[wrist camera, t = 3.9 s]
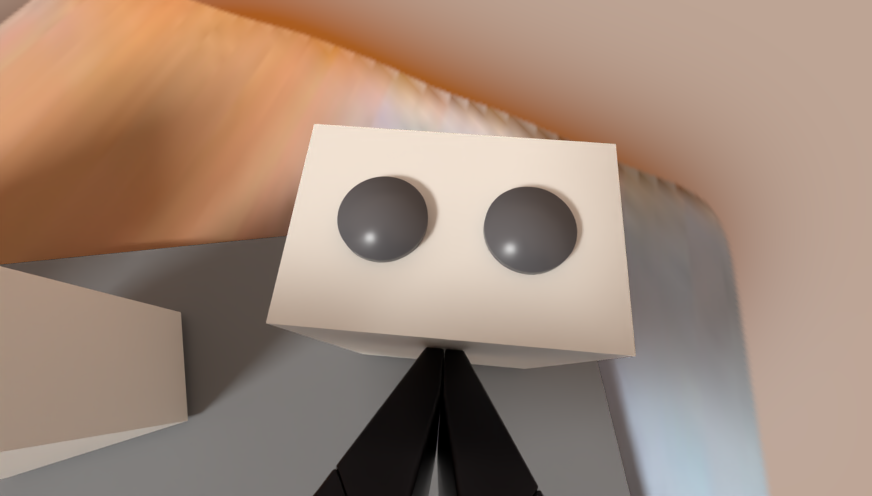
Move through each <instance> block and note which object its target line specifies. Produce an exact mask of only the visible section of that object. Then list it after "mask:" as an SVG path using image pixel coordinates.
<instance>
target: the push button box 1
mask: <svg viewBox="0 0 872 496" xmlns="http://www.w3.org/2000/svg"><path fill="white" fill-rule="evenodd" d="M185 421H188V414H187V399H186V384H185V368H184V353H183V337H182V322H181V312H178V311H174V310H170V309H166V308H162V307H158V306H154V305H150V304H146V303H142V302H138V301H134V300H131V299H127V298H123V297H119V296H115V295H111V294H107V293H103V292H99V291H95V290H91V289H88V288H84V287H80V286H76V285H72V284H68V283H64V282H60V281H56V280H52V279H48V278H45V277H41V276H37V275H33V274H29V273H25V272H21V271H17V270H13V269H9V268H5V267H1V266H0V479H4V478H8V477H11V476H14V475H17V474H21V473H24V472H27V471H30V470H33V469H36V468H40V467H43V466H46V465H49V464H52V463H55V462H59V461H62V460H65V459H68V458H71V457H74V456H78V455H81V454H84V453H87V452H90V451H94V450H97V449H100V448H103V447H106V446H109V445H113V444H116V443H119V442H122V441H125V440H128V439H132V438H135V437H138V436H141V435H144V434H147V433H151V432H154V431H157V430H160V429H163V428H166V427H170V426H173V425H176V424H179V423H182V422H185Z"/></svg>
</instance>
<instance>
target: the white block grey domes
mask: <svg viewBox="0 0 872 496" xmlns="http://www.w3.org/2000/svg"><path fill="white" fill-rule="evenodd" d="M266 324H269V325H273V326H276V327H279V328H282V329H285V330H288V331H292V332H295V333H298V334H301V335H304V336H307V337H310V338H314V339H317V340H320V341H323V342H326V343H329V344H333V345H336V346H339V347H342V348H345V349H348V350H351V351H355V352H358V353H361V354H367V355H378V356H389V357H400V358H411V359H417V358H418V357H419V355H420V354H421V353H422V352H423V350H424V349H425V348H426V347H430V348H442V349H444V353H445V350H446V349H453V350H463V351H464V352H465V354H466V356H467V357H468V359H469V361H470V363H471V364H477V365H488V366H499V367H510V368H521V369H528V368H537V367H545V366H554V365H563V364H572V363H580V362H589V361H598V360H607V359H615V358H624V357H633V356H636V353H635V343H634V332H633V321H632V311H631V300H630V290H629V279H628V269H627V258H626V248H625V237H624V227H623V216H622V206H621V195H620V184H619V174H618V163H617V153H616V144H608V143H593V142H578V141H563V140H548V139H533V138H518V137H503V136H488V135H473V134H458V133H442V132H427V131H412V130H397V129H382V128H367V127H352V126H337V125H322V124H314V127H313V131H312V135H311V140H310V144H309V148H308V152H307V156H306V160H305V164H304V168H303V172H302V177H301V181H300V185H299V189H298V193H297V197H296V201H295V205H294V209H293V213H292V218H291V222H290V226H289V230H288V234H287V238H286V242H285V246H284V250H283V254H282V259H281V263H280V267H279V271H278V275H277V279H276V283H275V287H274V291H273V295H272V300H271V304H270V308H269V312H268V316H267V320H266Z"/></svg>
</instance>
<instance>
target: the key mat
mask: <svg viewBox="0 0 872 496" xmlns="http://www.w3.org/2000/svg"><path fill="white" fill-rule="evenodd" d="M286 238H287V236H281V237H271V238H261V239H251V240H241V241H231V242H221V243H211V244H201V245H191V246H181V247H171V248H161V249H151V250H141V251H131V252H121V253H111V254H101V255H92V256H82V257H72V258H62V259H52V260H42V261H32V262H22V263H12V264H2V265H0V266H1V267H5V268H9V269H13V270H17V271H21V272H25V273H29V274H33V275H37V276H41V277H45V278H48V279H52V280H56V281H60V282H64V283H68V284H72V285H76V286H80V287H84V288H88V289H91V290H95V291H99V292H103V293H107V294H111V295H115V296H119V297H123V298H127V299H131V300H134V301H138V302H142V303H146V304H150V305H154V306H158V307H162V308H166V309H170V310H174V311H178V312H181V322H182V337H183V353H184V368H185V384H186V399H187V414H188V421H185V422H182V423H179V424H176V425H173V426H170V427H166V428H163V429H160V430H157V431H154V432H151V433H147V434H144V435H141V436H138V437H135V438H132V439H128V440H125V441H122V442H119V443H116V444H113V445H109V446H106V447H103V448H100V449H97V450H94V451H90V452H87V453H84V454H81V455H78V456H74V457H71V458H68V459H65V460H62V461H59V462H55V463H52V464H49V465H46V466H43V467H40V468H36V469H33V470H30V471H27V472H24V473H21V474H17V475H14V476H11V477H8V478H4V479H0V496H313V495H314V493H315V492H316V491H317V490H318V488H319V487H320V486H321V484H322V483H323V482H324V480H325V479H326V478H327V477H328V475H329V474H330V473H331V471H332V470H333V469H336V465H337V464H338V462H339V461H340V460H341V458H342V457H343V456H344V454H345V453H346V452H347V450H348V449H349V448H350V446H351V445H352V444H353V443H354V441H355V440H356V439H357V437H358V436H359V435H360V433H361V432H362V431H363V429H364V428H365V427H366V425H367V424H368V423H369V421H370V420H371V419H372V417H373V416H374V415H375V414H376V412H377V411H378V410H379V408H380V407H381V406H382V404H383V403H384V402H385V400H386V399H387V398H388V396H389V395H390V394H391V392H392V391H393V390H394V388H395V387H396V386H397V384H398V383H399V382H400V381H401V379H402V378H403V377H404V375H405V374H406V373H407V371H408V370H409V369H410V367H411V366H412V365H413V363H414V362H415V361H416V359H411V358H400V357H389V356H378V355H367V354H361V353H358V352H355V351H351V350H348V349H345V348H342V347H339V346H336V345H333V344H329V343H326V342H323V341H320V340H317V339H314V338H310V337H307V336H304V335H301V334H298V333H295V332H292V331H288V330H285V329H282V328H279V327H276V326H273V325H269V324H266V320H267V316H268V312H269V308H270V304H271V300H272V295H273V291H274V287H275V283H276V279H277V275H278V271H279V267H280V263H281V259H282V254H283V250H284V246H285V242H286ZM471 365H472V366H473V368H474V370H475V372H476V374H477V376H478V377H479V379H480V381H481V383H482V385H483V386H484V388H485V390H486V392H487V394H488V395H489V397H490V399H491V401H492V403H493V405H494V406H495V408H496V410H497V412H498V414H499V415H500V417H501V419H502V421H503V423H504V425H505V426H506V428H507V430H508V432H509V434H510V435H511V437H512V439H513V441H514V443H515V445H516V446H517V448H518V450H519V452H520V454H521V455H522V457H523V459H524V461H525V463H526V464H527V466H528V468H529V470H530V472H531V474H532V475H533V477H534V479H535V481H536V483H537V484H538V490H541V491H542V493H543V495H544V496H630V492H629V488H628V484H627V480H626V476H625V472H624V468H623V463H622V459H621V455H620V451H619V447H618V443H617V439H616V435H615V431H614V427H613V423H612V419H611V414H610V410H609V406H608V402H607V398H606V394H605V390H604V386H603V382H602V378H601V374H600V370H599V366H598V361H589V362H580V363H572V364H563V365H554V366H545V367H537V368H528V369H521V368H510V367H499V366H488V365H477V364H471ZM438 431H439V429H438ZM437 445H438V441H437ZM429 496H438V473H437V451H436V458H435V464H434V470H433V475H432V480H431V486H430V491H429Z"/></svg>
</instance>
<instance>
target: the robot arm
mask: <svg viewBox="0 0 872 496" xmlns="http://www.w3.org/2000/svg"><path fill="white" fill-rule="evenodd" d="M438 429H439V431H438ZM437 441H438V445H437ZM436 451H437V473H438V496H544V495H543V493H542V491H541V490H538V484H537V483H536V481H535V479H534V477H533V475H532V474H531V472H530V470H529V468H528V466H527V464H526V463H525V461H524V459H523V457H522V455H521V454H520V452H519V450H518V448H517V446H516V445H515V443H514V441H513V439H512V437H511V435H510V434H509V432H508V430H507V428H506V426H505V425H504V423H503V421H502V419H501V417H500V415H499V414H498V412H497V410H496V408H495V406H494V405H493V403H492V401H491V399H490V397H489V395H488V394H487V392H486V390H485V388H484V386H483V385H482V383H481V381H480V379H479V377H478V376H477V374H476V372H475V370H474V368H473V366H472V365H471V363H470V361H469V359H468V357H467V356H466V354H465V352H464V351H463V350H453V349H446V350H445V353H444V349H442V348H430V347H426V348H425V349H424V350H423V352H422V353H421V354H420V355H419V357H418V358H417V359H416V361H415V362H414V363H413V365H412V366H411V367H410V369H409V370H408V371H407V373H406V374H405V375H404V377H403V378H402V379H401V381H400V382H399V383H398V384H397V386H396V387H395V388H394V390H393V391H392V392H391V394H390V395H389V396H388V398H387V399H386V400H385V402H384V403H383V404H382V406H381V407H380V408H379V410H378V411H377V412H376V414H375V415H374V416H373V417H372V419H371V420H370V421H369V423H368V424H367V425H366V427H365V428H364V429H363V431H362V432H361V433H360V435H359V436H358V437H357V439H356V440H355V441H354V443H353V444H352V445H351V446H350V448H349V449H348V450H347V452H346V453H345V454H344V456H343V457H342V458H341V460H340V461H339V462H338V464H337V465H336V469H333V470H332V471H331V473H330V474H329V475H328V477H327V478H326V479H325V480H324V482H323V483H322V484H321V486H320V487H319V488H318V490H317V491H316V492H315V493H314V495H313V496H429V491H430V486H431V480H432V475H433V470H434V464H435V458H436Z"/></svg>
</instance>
